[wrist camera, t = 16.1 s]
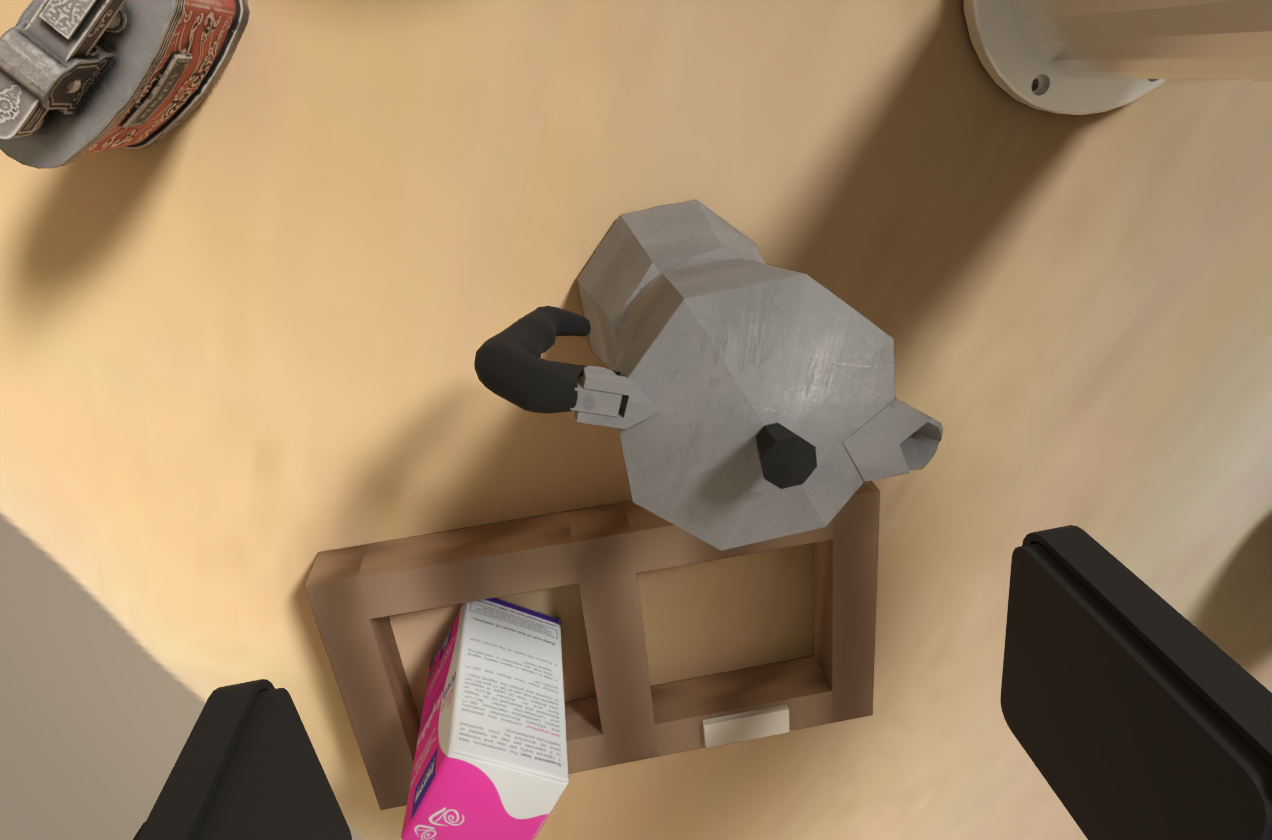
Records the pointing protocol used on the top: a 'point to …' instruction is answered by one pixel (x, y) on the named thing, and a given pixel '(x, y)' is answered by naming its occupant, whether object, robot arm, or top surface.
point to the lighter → (109, 73)
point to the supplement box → (490, 728)
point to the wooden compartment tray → (597, 631)
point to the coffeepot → (719, 379)
